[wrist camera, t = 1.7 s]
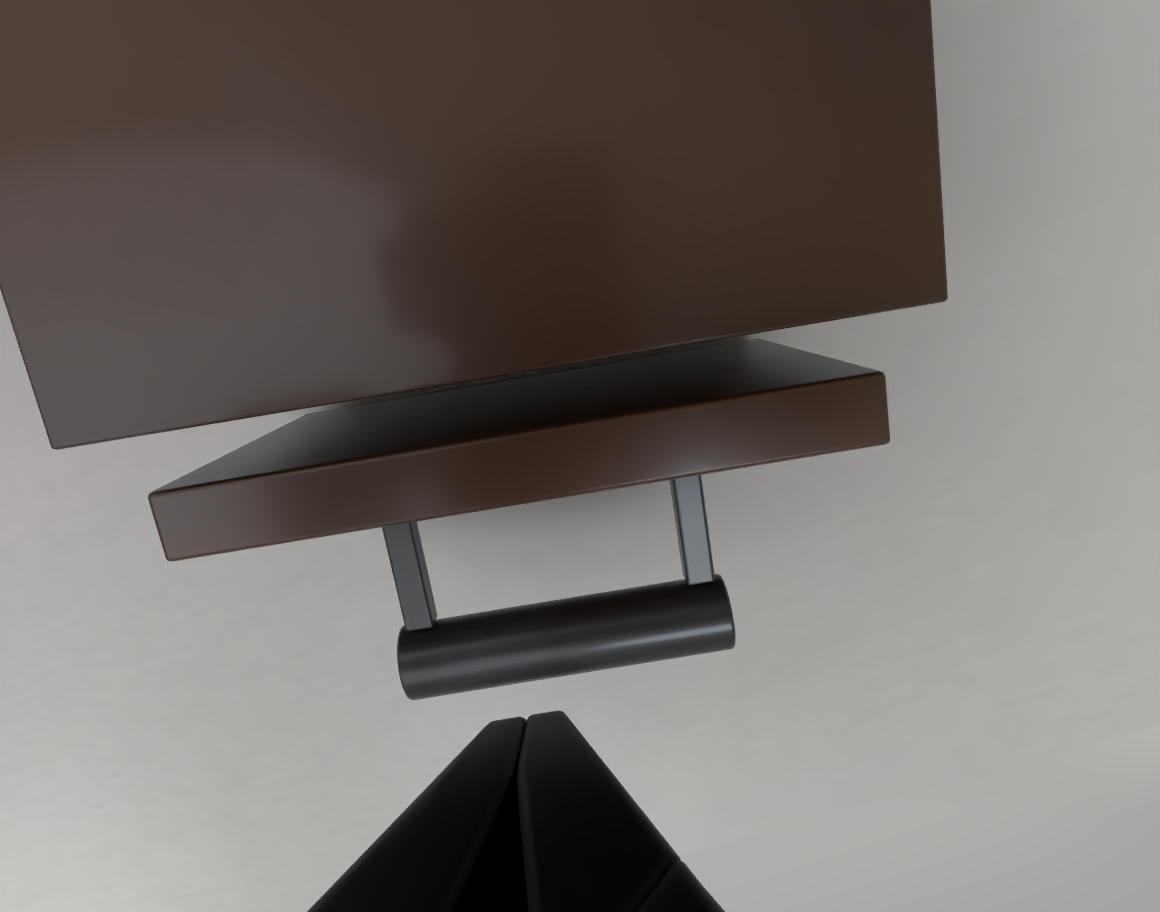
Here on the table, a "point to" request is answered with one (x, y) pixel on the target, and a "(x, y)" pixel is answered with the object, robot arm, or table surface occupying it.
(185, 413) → the cabinet
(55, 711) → the table surface
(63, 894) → the table surface
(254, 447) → the drawer
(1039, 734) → the table surface
